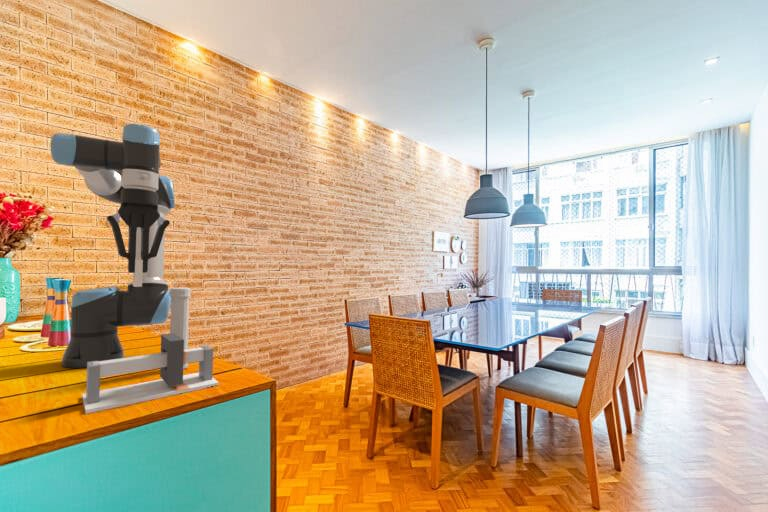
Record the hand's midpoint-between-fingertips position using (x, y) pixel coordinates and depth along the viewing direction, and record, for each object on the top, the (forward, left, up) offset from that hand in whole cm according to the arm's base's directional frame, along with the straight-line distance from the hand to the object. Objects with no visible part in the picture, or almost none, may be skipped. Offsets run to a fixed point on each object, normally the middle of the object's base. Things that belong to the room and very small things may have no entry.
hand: (137, 286), depth 87 cm
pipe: (-17, +13, -27) cm, 34 cm away
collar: (0, +8, -24) cm, 26 cm away
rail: (0, +4, -26) cm, 27 cm away
